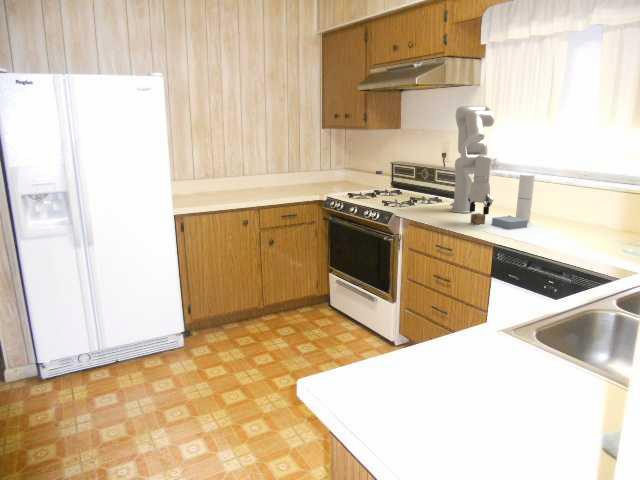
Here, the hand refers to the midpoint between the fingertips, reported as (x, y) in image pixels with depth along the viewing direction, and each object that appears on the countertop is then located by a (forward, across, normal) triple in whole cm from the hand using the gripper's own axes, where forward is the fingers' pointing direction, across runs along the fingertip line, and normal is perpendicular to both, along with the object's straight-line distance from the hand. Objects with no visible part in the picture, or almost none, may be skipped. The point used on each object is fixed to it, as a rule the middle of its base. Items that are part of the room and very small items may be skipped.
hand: (478, 212), depth 258 cm
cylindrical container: (+6, +5, +26) cm, 28 cm away
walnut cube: (+6, -1, 0) cm, 6 cm away
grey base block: (+6, +10, +11) cm, 17 cm away
